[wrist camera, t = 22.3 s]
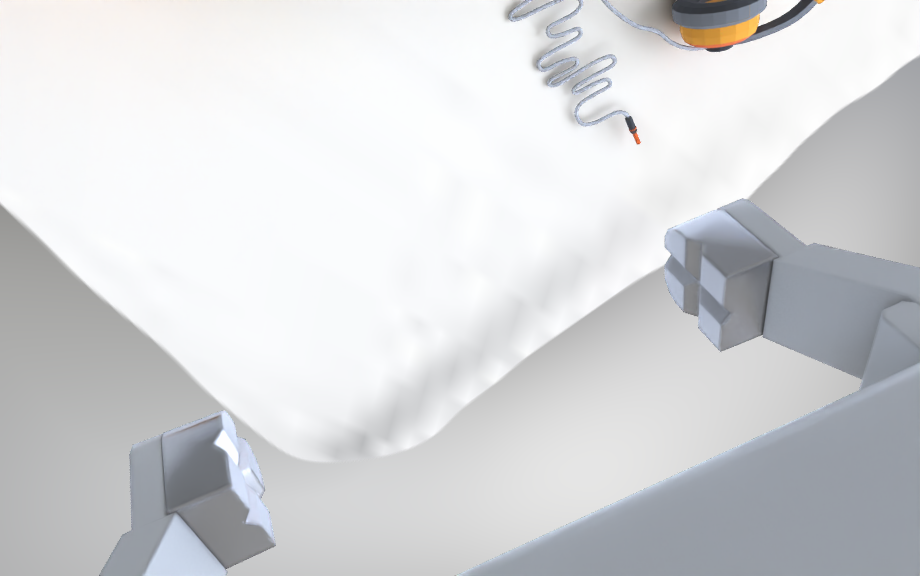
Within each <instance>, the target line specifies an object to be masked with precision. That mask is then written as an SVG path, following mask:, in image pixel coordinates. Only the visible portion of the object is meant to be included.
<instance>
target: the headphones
mask: <svg viewBox="0 0 920 576" xmlns="http://www.w3.org/2000/svg"><path fill="white" fill-rule="evenodd" d="M530 1H532V0H525V1H524V2H522V3H521V4H519V5H518V6H517V7H515V8H514V9H513V10H512V11H511V12H510V13H509V16H508V17H509V20H510V21H514V22H515V21H519V20H522V19H524V18H527V17H529V16H531V15H533V14H535V13H537V12H539V11H541V10H543V9H545V8H547V7H550V6H552V5H554V4H556V3H558V2H561V1H563V0H553V1H551V2H549V3H547V4H545V5H542V6H540V7H538V8H536V9H534V10H532V11H530V12H528V13H526V14H524V15H521V16H519V17H512V16H513V14H514V13H515V12H517V11H518V10H519V9H521V8H522V7H523V6H525V5H526V4H527V3H529V2H530ZM578 1H579V6H578V8H577V9H576V10H575V11H574V12H572V13H571V14H569V15H567V16H565V17H563V18H561V19H559V20H557V21H555V22H553V23H552V24H550V25H549V26H548V27H547V29H546V34H547V36H548V37H549V38H558V37H563V36H565V35H567V34H570V33H572V32H575V31H578V32H579V34H578V36H576V37H575V38H573V39H572V40H570V41H568V42H566V43H564V44H562V45H560V46H558V47H556V48H554V49H553V50H551V51H549V52H548V53H546V54H545V55H543V56H542V57H540V58H539V60H538V61H537V68H538V69H539V70H540V71H541V72H546V71H548V70H550V69H552V68H554V67H556V66H558V65H560V64H562V63H565V62H569V61H575V65H574V66H572V67H570V68H569V69H567V70H565V71H563V72H561V73H559V74H557V75H555V76H553V77H552V78H550V79H549V80H548V83H547V84H548V86H549V87H557V86H559V85H561V84H563V83H565V82H566V81H568V80H570V79H571V78H573V77H574V76H576V75H578V74H579V73H581V72H583V71H584V70H586V69H587V68H589V67H591V66H592V65H594V64H596V63H598V62H600V61H602V60H605V59H608V58H611V59H612V60H613V63H612V64H611V65H609V66H608V67H606V68H604V69H602V70H600V71H598V72H596V73H594V74H592V75H591V76H589V77H587V78H586V79H584V80H582V81H581V82H579V83H577V84H576V85H575V86H574V87H573V89H572V93H573V94H575V95H577V94H579V93H581V92H583V91H585V90H587V89H589V88H591V87H593V86H595V85H597V84H599V83H602V82H605V81H607V82H608V83H609V84H608V85H607V86H606V87H604V88H602V89H600V90H598V91H596V92H594V93H593V94H591V95H589V96H588V97H586V98H585V99H583V100H582V101H580V102H579V104H578V105H577V106H576V108H575V112H574V113H575V118H576V120H577V122H578V123H579V124H580V125H581V126H591V125H594V124H597V123H600V122H602V121H604V120H606V119H608V118H610V117H612V116H614V115H616V114H623V115H624V116H625V117H626V118H625V120H626V123H627V125H628V127H629V131H630V132H631V133H632V134H633V136H634V138H635V141H636V143H637V144H640V143H641V142H640V140H639V137H638V135H637V133H636V131H637V129H636V126H635V124H634V122H633V119H632V117H631V116H629V114H628V113H627V112H625V111H622V110H620V111H614V112H612V113H610V114H608V115H606V116H604V117H602V118H600V119H598V120H596V121H593V122H589V123H584V122H582V121H581V120H580V118H579V116H578V110H579V108H580V106H581V105H582V104H583V103H585V102H586V101H588V100H589V99H591V98H593V97H594V96H596V95H598V94H600V93H602V92H604V91H606V90H607V89H609V88H610V87H611V86H612V81H611V79H610V78H603V79H600V80H598V81H595V82H593V83H591V84H589V85H587V86H585V87H584V88H582V89H580V90H578V91H575V90H576V89H577V88H578V87H579V86H581V85H582V84H584V83H586V82H587V81H589V80H591V79H592V78H594V77H596V76H598V75H600V74H602V73H604V72H606V71H608V70H609V69H611V68H612V67H614V66H615V64H616V62H617V59H616V57H615V56H614V55H612V54H609V55H605V56H603V57H600V58H598V59H596V60H594V61H592V62H590V63H589V64H587V65H586V66H584V67H582V68H581V69H579V70H577V71H576V72H574V73H573V74H571V75H569V76H568V77H566V78H564V79H563V80H561V81H559V82H557V83H554V84H552V83H551V82H552V81H553V80H555V79H557V78H559V77H561V76H563V75H565V74H567V73H569V72H571V71H572V70H574V69H575V68H577V66H578V65H579V59H578V58H577V57H570V58H566V59H563V60H560V61H558V62H556V63H554V64H552V65H550V66H548V67H546V68H542V67H541V65H540V63H541V62H542V61H543V60H544V59H545V58H547V57H548V56H550V55H552V54H553V53H555V52H556V51H558V50H560V49H562V48H564V47H566V46H568V45H570V44H572V43H574V42H575V41H577V40H578V39H580V38H581V36H582V34H583V31H582V29H581V28H580V27H575V28H572V29H570V30H567V31H565V32H562V33H558V34H551V33H550V29H551V28H552V27H554V26H556V25H558V24H560V23H562V22H564V21H566V20H568V19H570V18H571V17H573V16H575V15H576V14H577V13H578V12H579V11H580V10H581V8H582V6H583V0H578ZM602 1H603V3H604V4H605V5H606V6H607V7H608V8H609V9H610V10H611V11H612V12H613V13H614V14H616V15H617V16H618V17H619V18H621V19H622V20H623V21H625V22H626V23H628V24H630V25H631V26H633V27H635V28H638V29H641V30H646V31H651V32H654V33H657V34H658V35H660V36H661V37H662V38H663V39H664V40H665V41H667V42H668V43H669V44H671V45H673V46H675V47H678V48H681V49H685V50H691V51H693V50H703V49H706V50H707V51H710V52H720V51H725V50H728V49H730V48H731V47H733V45H736V44H742V43H746V42H750V41H753V40H757V39H759V38H762V37H765V36H767V35H770V34H772V33H775V32H777V31H780V30H782V29H784V28H786V27H788V26H790V25H791V24H793V23H795V22H796V21H798V20H799V19H801V18H802V17H803V16H804V15H805V14H807V13H808V12H809V11H810V10H811V9H812V8H813V7H814V6H815V5H816V4H817V3H818V4H820V3H822V2H823V1H824V0H801V1H800V2H799V3H798V4H797V5H796V6H795V7H793V8H792V9H791V10H790V11H789V12H787V13H786V14H784V15H782V16H781V17H779V18H777V19H775V20H773V21H771V22H769V23H766V24H764V25H761V26H758V23H759V19H760V15H759V14H760V13H761V12H762V11H763V10H764V9H765V8H766V6H767V0H677V1H676V2H675V3H674V4H673V5H672V13H673V21H674V22H675V23H676V24H678V25H680V32H681V35H682V38H683V40H684V41H685V42H686V43H688V44H690V45H692V46H695V47H690V46H685V45H681V44H678V43H676V42H674V41H672V40H671V39H669V38H668V37H667V36H666V35H665V34H664V33H662V32H661V31H660V30H657V29H655V28H651V27H646V26H641V25H639V24H636V23H634V22H633V21H631V20H629V19H628V18H626V17H625V16H624V15H622V14H621V13H620V12H618V11H617V10H616V9H615V8H614V7H613V6H612V5H611V4H610V3H609V2H608V1H607V0H602Z"/></svg>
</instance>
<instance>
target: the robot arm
mask: <svg viewBox="0 0 920 576" xmlns="http://www.w3.org/2000/svg"><path fill="white" fill-rule="evenodd" d="M665 248H666V249H667V250H668V251H669V252H670V253H671V256H670V257H669V259H668V261H667V262H666V264H665V281H666V284H667V286H668V289H669V293H670V294H671V296H672V298H673V299H674V301H675V303H676V304H677V305H678V306H679V307H680V308H681V310H682V311H683V312H685V313H688V314H691V315H694V316H698V317H699V322H698V328H699V329H700V330H701V331H702V333H703V334H705V336H706V337H707V338H708V339H709V340H710V341H711V342H712V343H713V344H714V345H715V346H716V347H717V349H718V350H719V351H720V352H721V351H724V350H726V349H729V348H731V347H734V346H736V345H739V344H741V343H743V342H746V341H748V340H751V339H753V338H756V337H758V336H761V335H763V338H766V339H768V340H770V341H773V342H775V343H778V344H780V345H782V346H785V347H787V348H789V349H792V350H794V351H797V352H799V353H801V354H804V355H806V356H808V357H811V358H813V359H815V360H818V361H820V362H822V363H825V364H827V365H830V366H832V367H834V368H836V369H839V370H841V371H843V372H846V373H848V374H850V375H853V376H855V377H858V378H860V379H862V382H861V386H860V389H859V391H856V392H854V393H852V394H850V395H848V396H846V397H843V398H841V399H839V400H837V401H835V402H833V403H830V404H828V405H826V406H824V407H821V408H819V409H817V410H815V411H813V412H811V413H808V414H806V415H804V416H802V417H800V418H797V419H795V420H793V421H791V422H789V423H787V424H784V425H782V426H780V427H778V428H776V429H774V430H771V431H769V432H767V433H765V434H763V435H760V436H758V437H756V438H754V439H752V440H750V441H748V442H745V443H743V444H741V445H739V446H737V447H735V448H732V449H730V450H728V451H726V452H724V453H722V454H719V455H717V456H715V457H713V458H710V459H708V460H706V461H704V462H702V463H700V464H698V465H695V466H693V467H691V468H689V469H687V470H684V471H682V472H680V473H678V474H676V475H674V476H671V477H669V478H667V479H665V480H663V481H661V482H658V483H656V484H654V485H652V486H650V487H648V488H645V489H643V490H641V491H639V492H637V493H635V494H633V495H630V496H628V497H626V498H624V499H621V500H619V501H617V502H615V503H613V504H610V505H608V506H606V507H604V508H602V509H600V510H597V511H595V512H593V513H591V514H589V515H587V516H584V517H582V518H580V519H578V520H576V521H573V522H571V523H569V524H567V525H565V526H563V527H560V528H558V529H556V530H554V531H552V532H549V533H547V534H545V535H543V536H541V537H539V538H536V539H534V540H532V541H530V542H528V543H525V544H523V545H521V546H519V547H517V548H514V549H512V550H510V551H508V552H506V553H504V554H502V555H499V556H497V557H495V558H493V559H490V560H488V561H486V562H484V563H482V564H480V565H477V566H475V567H473V568H471V569H469V570H467V571H464V572H462V573H460V574H458V575H456V576H920V268H919V267H915V266H910V265H906V264H902V263H898V262H893V261H889V260H885V259H881V258H876V257H872V256H867V255H863V254H859V253H854V252H850V251H846V250H842V249H837V248H833V247H829V246H825V245H820V244H816V243H813V244H810V245H808V246H806V245H805V244H804V243H803V242H801V241H800V240H799V239H798V238H796V237H795V236H794V235H793V234H791V233H790V232H789V231H787V230H786V229H785V228H783V227H782V226H781V225H780V224H779V223H777V222H776V221H775V220H774V219H772V218H771V217H770V216H769V215H767V214H766V213H765V212H763V211H762V210H761V209H760V208H759V207H757V206H756V205H755V204H754V203H752V202H751V201H749V200H747V199H743V198H742V199H740V200H737V201H735V202H732V203H730V204H728V205H725V206H723V207H720V208H718V209H717V210H713V211H711V212H708V213H706V214H704V215H701V216H699V217H696V218H694V219H692V220H689V221H687V222H684V223H682V224H680V225H677V226H675V227H672V228H670V229H668V230H667V233H666V235H665ZM129 456H130V489H131V490H130V491H131V523H132V524H131V527H132V530H131V531H129V532H127V533H125V534H123V535H122V536H121V538H120V540H119V541H118V543H117V545H116V547H115V549H114V550H113V552H112V554H111V555H110V557H109V559H108V561H107V562H106V564H105V566H104V568H103V569H102V571H101V573H100V575H99V576H226V575H227V570H226V569H227V568H229V567H232V566H234V565H236V564H238V563H240V562H242V561H244V560H247V559H249V558H251V557H253V556H255V555H257V554H259V553H262V552H264V551H266V550H268V549H270V548H272V547H274V546H276V544H275V539H274V533H273V528H272V523H271V518H270V512H269V511H268V509H267V508H266V506H265V505H264V503H263V502H262V501H261V498H262V495H263V493H264V491H265V487H264V483H263V478H262V474H261V471H260V468H259V465H258V462H257V459H256V457H255V455H254V453H253V451H252V449H251V447H250V446H249V444H248V443H247V441H246V439H244V438H241V437H238V436H237V433H236V428H235V423H234V422H233V420H232V419H231V417H230V416H229V414H228V413H227V412H226V411H219V412H217V413H214V414H212V415H209V416H206V417H204V418H201V419H198V420H196V421H193V422H191V423H188V424H185V425H183V426H180V427H177V428H175V429H172V430H169V431H167V432H164V433H163V434H161V435H158V436H155V437H153V438H150V439H147V440H145V441H142V442H139V443H137V444H134V445H133V446H132V449H131V451H130V454H129Z"/></svg>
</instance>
